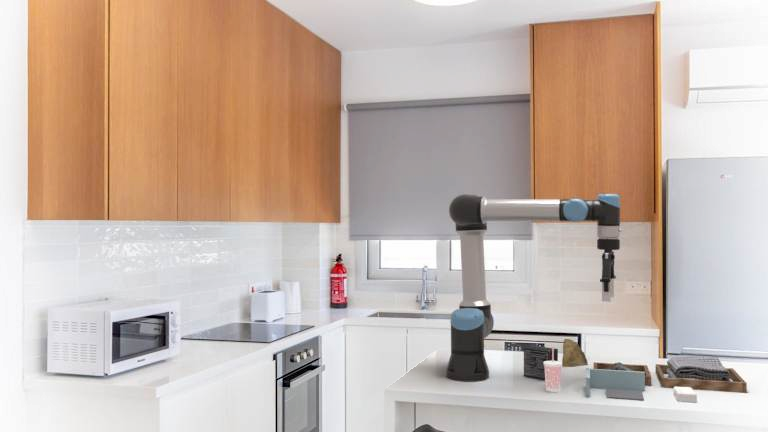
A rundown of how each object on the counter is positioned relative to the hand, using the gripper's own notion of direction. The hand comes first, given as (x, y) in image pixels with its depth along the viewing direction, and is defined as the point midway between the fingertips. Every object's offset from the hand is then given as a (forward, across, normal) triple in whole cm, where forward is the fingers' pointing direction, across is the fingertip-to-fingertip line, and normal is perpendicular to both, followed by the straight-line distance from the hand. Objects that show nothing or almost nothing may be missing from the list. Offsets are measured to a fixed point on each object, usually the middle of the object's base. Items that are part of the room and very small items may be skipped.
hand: (608, 299), depth 241 cm
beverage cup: (+28, -24, +15) cm, 40 cm away
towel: (+28, +7, -29) cm, 41 cm away
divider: (+28, -20, -4) cm, 35 cm away
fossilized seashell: (+28, +3, -5) cm, 29 cm away
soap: (+28, -18, -25) cm, 41 cm away
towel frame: (+27, +6, -29) cm, 40 cm away
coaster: (+28, -21, -7) cm, 35 cm away
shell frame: (+28, +3, -4) cm, 28 cm away
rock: (+28, +18, +13) cm, 36 cm away
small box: (+28, -7, +22) cm, 36 cm away
